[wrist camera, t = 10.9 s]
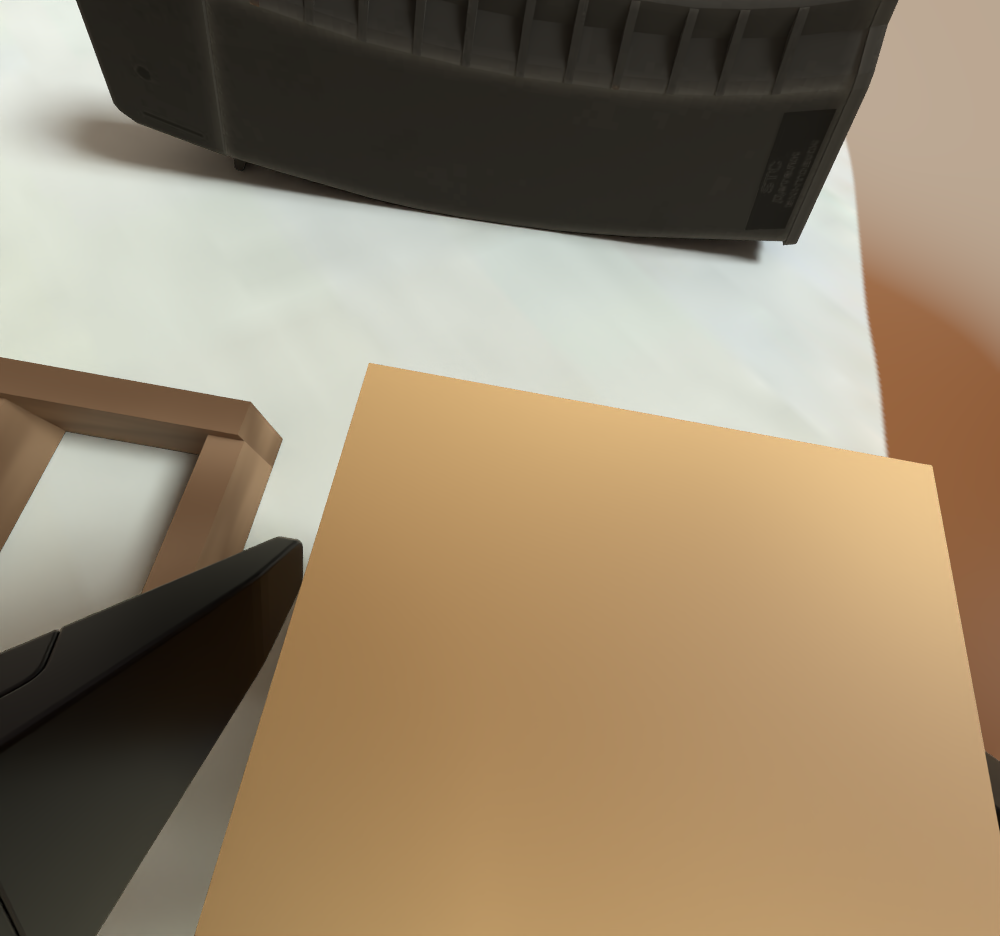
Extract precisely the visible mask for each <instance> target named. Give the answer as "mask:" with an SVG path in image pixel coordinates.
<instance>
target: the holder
mask: <svg viewBox="0 0 1000 936" xmlns="http://www.w3.org/2000/svg"><path fill="white" fill-rule="evenodd" d="M65 431H68V432H73V433H79V434H85V435H90V436H96V437H102V438H107V439H113V440H119V441H124V442H130V443H136V444H141V445H147V446H153V447H158V448H164V449H170V450H176V451H181V452H187V453H193V454H198V455H199V457H198V460H197V462H196V465H195V467H194V469H193V472H192V474H191V476H190V479H189V481H188V484H187V486H186V488H185V491H184V493H183V495H182V498H181V500H180V503H179V505H178V507H177V510H176V512H175V514H174V517H173V519H172V522H171V524H170V526H169V529H168V531H167V533H166V536H165V538H164V541H163V543H162V545H161V548H160V550H159V552H158V555H157V557H156V560H155V562H154V564H153V567H152V569H151V571H150V574H149V576H148V579H147V581H146V583H145V586H144V588H143V590H142V593H145V592H147V591H150V590H152V589H154V588H157V587H159V586H161V585H164V584H166V583H169V582H171V581H173V580H176V579H178V578H180V577H183V576H185V575H188V574H190V573H192V572H195V571H197V570H199V569H202V568H204V567H207V566H209V565H211V564H214V563H216V562H218V561H221V560H223V559H225V558H228V557H230V556H233V555H235V554H237V553H240V552H242V551H243V549H244V546H245V543H246V541H247V538H248V535H249V532H250V529H251V527H252V524H253V521H254V518H255V515H256V513H257V510H258V507H259V504H260V501H261V499H262V496H263V493H264V490H265V487H266V485H267V482H268V479H269V476H270V473H271V471H272V468H273V465H274V462H275V459H276V457H277V454H278V451H279V448H280V445H281V443H282V440H283V439H282V438H281V436H280V435H279V434H278V433H277V432H276V431H275V429H274V428H273V427H272V426H271V425H270V424H269V423H268V421H267V420H266V419H265V418H264V417H263V416H262V414H261V413H260V412H259V411H258V410H257V409H256V407H255V406H254V405H253V404H252V403H251V402H248V401H243V400H237V399H231V398H226V397H220V396H215V395H209V394H203V393H198V392H192V391H187V390H181V389H175V388H170V387H164V386H159V385H153V384H147V383H142V382H136V381H131V380H125V379H119V378H114V377H108V376H103V375H97V374H92V373H86V372H80V371H75V370H69V369H64V368H58V367H52V366H47V365H41V364H36V363H30V362H24V361H19V360H13V359H8V358H2V357H0V551H1V549H2V547H3V546H4V544H5V542H6V540H7V538H8V536H9V535H10V533H11V531H12V529H13V527H14V525H15V524H16V522H17V520H18V518H19V516H20V514H21V512H22V511H23V509H24V507H25V505H26V503H27V501H28V500H29V498H30V496H31V494H32V492H33V490H34V489H35V487H36V485H37V483H38V481H39V479H40V478H41V476H42V474H43V472H44V470H45V468H46V466H47V465H48V463H49V461H50V459H51V457H52V455H53V454H54V452H55V450H56V448H57V446H58V444H59V443H60V441H61V439H62V437H63V435H64V433H65ZM142 593H141V594H142Z"/></svg>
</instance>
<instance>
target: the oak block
mask: <svg viewBox="0 0 1000 936" xmlns="http://www.w3.org/2000/svg"><path fill="white" fill-rule="evenodd" d="M194 936H1000V831H999V826H998V821H997V815H996V810H995V804H994V799H993V793H992V788H991V783H990V777H989V772H988V766H987V761H986V755H985V751H984V745H983V739H982V734H981V729H980V724H979V718H978V713H977V707H976V701H975V696H974V690H973V685H972V680H971V675H970V669H969V664H968V658H967V653H966V648H965V643H964V636H963V631H962V626H961V620H960V615H959V609H958V604H957V598H956V593H955V587H954V582H953V577H952V571H951V566H950V560H949V555H948V550H947V544H946V539H945V533H944V528H943V522H942V517H941V512H940V507H939V501H938V495H937V490H936V484H935V479H934V474H933V468H932V466H931V465H926V464H920V463H914V462H909V461H904V460H898V459H892V458H887V457H882V456H876V455H871V454H865V453H860V452H854V451H849V450H843V449H838V448H832V447H827V446H821V445H816V444H811V443H805V442H800V441H794V440H789V439H783V438H778V437H772V436H767V435H761V434H756V433H750V432H745V431H739V430H734V429H728V428H723V427H717V426H712V425H706V424H701V423H696V422H690V421H685V420H679V419H674V418H668V417H663V416H657V415H652V414H646V413H641V412H635V411H630V410H624V409H619V408H613V407H608V406H602V405H597V404H591V403H586V402H581V401H575V400H570V399H564V398H559V397H553V396H548V395H542V394H537V393H531V392H526V391H520V390H515V389H509V388H504V387H498V386H493V385H487V384H482V383H476V382H471V381H466V380H460V379H455V378H449V377H444V376H438V375H433V374H427V373H422V372H416V371H411V370H405V369H400V368H394V367H389V366H383V365H378V364H372V363H369V365H368V368H367V371H366V375H365V378H364V381H363V384H362V388H361V391H360V394H359V398H358V401H357V404H356V407H355V411H354V414H353V417H352V420H351V424H350V427H349V430H348V434H347V437H346V440H345V443H344V447H343V450H342V453H341V457H340V460H339V463H338V466H337V470H336V473H335V476H334V479H333V483H332V486H331V489H330V493H329V496H328V499H327V502H326V506H325V509H324V512H323V516H322V519H321V522H320V525H319V529H318V532H317V535H316V538H315V542H314V545H313V548H312V552H311V555H310V558H309V561H308V565H307V568H306V571H305V574H304V578H303V581H302V584H301V588H300V591H299V594H298V597H297V601H296V604H295V607H294V611H293V614H292V617H291V620H290V624H289V627H288V630H287V633H286V637H285V640H284V643H283V647H282V650H281V653H280V656H279V660H278V663H277V666H276V669H275V673H274V676H273V679H272V683H271V686H270V689H269V692H268V696H267V699H266V702H265V706H264V709H263V712H262V715H261V719H260V722H259V725H258V728H257V732H256V735H255V738H254V742H253V745H252V748H251V751H250V755H249V758H248V761H247V765H246V768H245V771H244V774H243V778H242V781H241V784H240V787H239V791H238V794H237V797H236V801H235V804H234V807H233V810H232V814H231V817H230V820H229V823H228V827H227V830H226V833H225V837H224V840H223V843H222V846H221V850H220V853H219V856H218V860H217V863H216V866H215V869H214V873H213V876H212V879H211V882H210V886H209V889H208V892H207V896H206V899H205V902H204V905H203V909H202V912H201V915H200V918H199V922H198V925H197V928H196V932H195V935H194Z"/></svg>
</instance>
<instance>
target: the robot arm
mask: <svg viewBox="0 0 1000 936" xmlns="http://www.w3.org/2000/svg"><path fill="white" fill-rule="evenodd" d="M302 579H303V546H302V542H301V541H300V540H298V539H292V538H287V537H276V538H273V539H271V540H268V541H266V542H263V543H261V544H259V545H256V546H254V547H252V548H249V549H247V550H244V551H242V552H240V553H237V554H235V555H233V556H230V557H228V558H225V559H223V560H221V561H218V562H216V563H214V564H211V565H209V566H207V567H204V568H202V569H199V570H197V571H195V572H192V573H190V574H188V575H185V576H183V577H180V578H178V579H176V580H173V581H171V582H169V583H166V584H164V585H161V586H159V587H157V588H154V589H152V590H150V591H147V592H145V593H142V594H140V595H138V596H135V597H133V598H130V599H128V600H126V601H123V602H121V603H119V604H116V605H114V606H111V607H109V608H107V609H104V610H102V611H100V612H97V613H95V614H92V615H90V616H88V617H85V618H83V619H81V620H78V621H76V622H73V623H71V624H69V625H66V626H64V627H62V628H61V630H60V632H59V631H58V630H54V631H52V632H49V633H47V634H45V635H42V636H40V637H38V638H35V639H33V640H30V641H28V642H26V643H23V644H21V645H18V646H16V647H13V648H11V649H8V650H6V651H4V652H1V653H0V936H96V935H97V933H98V932H99V930H100V928H101V927H102V925H103V924H104V922H105V920H106V919H107V917H108V916H109V914H110V912H111V911H112V909H113V907H114V906H115V904H116V903H117V901H118V899H119V898H120V896H121V895H122V893H123V891H124V890H125V888H126V886H127V885H128V883H129V882H130V880H131V878H132V877H133V875H134V874H135V872H136V870H137V869H138V867H139V865H140V864H141V862H142V861H143V859H144V857H145V856H146V854H147V853H148V851H149V849H150V848H151V846H152V844H153V843H154V841H155V840H156V838H157V836H158V835H159V833H160V831H161V830H162V828H163V827H164V825H165V823H166V822H167V820H168V819H169V817H170V815H171V814H172V812H173V810H174V809H175V807H176V806H177V804H178V802H179V801H180V799H181V798H182V796H183V794H184V793H185V791H186V789H187V788H188V786H189V785H190V783H191V781H192V780H193V778H194V777H195V775H196V773H197V772H198V770H199V768H200V767H201V765H202V764H203V762H204V760H205V759H206V757H207V756H208V754H209V752H210V751H211V749H212V747H213V746H214V744H215V743H216V741H217V739H218V738H219V736H220V735H221V733H222V731H223V730H224V728H225V726H226V725H227V723H228V722H229V720H230V718H231V717H232V715H233V713H234V712H235V710H236V709H237V707H238V705H239V704H240V702H241V701H242V699H243V697H244V696H245V694H246V692H247V691H248V689H249V688H250V686H251V684H252V683H253V681H254V680H255V678H256V676H257V675H258V673H259V671H260V669H261V668H262V666H263V664H264V663H265V661H266V659H267V657H268V655H269V653H270V651H271V649H272V647H273V644H274V642H275V640H276V638H277V636H278V634H279V632H280V630H281V628H282V626H283V623H284V621H285V619H286V617H287V615H288V613H289V611H290V609H291V607H292V605H293V602H294V600H295V598H296V596H297V594H298V592H299V590H300V587H301V584H302ZM985 755H986V761H987V766H988V772H989V777H990V783H991V788H992V793H993V799H994V804H995V810H996V815H997V821H998V826H999V831H1000V761H998V760H997V759H996V758H994V757H993V756H991V755H990V754H988V753H987V752H985Z"/></svg>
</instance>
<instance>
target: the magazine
mask: <svg viewBox="0 0 1000 936" xmlns="http://www.w3.org/2000/svg"><path fill="white" fill-rule="evenodd" d="M76 1H77V4H78V7H79V10H80V12H81V15H82V18H83V21H84V23H85V26H86V29H87V32H88V34H89V37H90V40H91V43H92V45H93V48H94V51H95V53H96V56H97V59H98V62H99V64H100V67H101V70H102V73H103V75H104V78H105V81H106V84H107V86H108V89H109V92H110V95H111V97H112V100H113V103H114V104H115V105H116V107H117V108H118V109H119V110H120V111H121V112H123V113H124V114H125V115H127V116H128V117H130V118H131V119H132V120H134V121H135V122H137V123H139V124H142V125H144V126H147V127H150V128H152V129H155V130H158V131H161V132H163V133H166V134H169V135H171V136H174V137H177V138H180V139H182V140H185V141H188V142H190V143H193V144H196V145H199V146H201V147H204V148H207V149H209V150H212V151H215V152H218V153H220V154H223V155H227V156H230V157H233V158H234V164H235V169H237V170H240V171H243V168H244V166H245V163H246V162H249V163H252V164H255V165H258V166H262V167H265V168H268V169H271V170H275V171H278V172H282V173H285V174H289V175H292V176H296V177H299V178H303V179H306V180H310V181H313V182H317V183H320V184H324V185H327V186H331V187H334V188H338V189H341V190H345V191H348V192H352V193H355V194H359V195H362V196H366V197H369V198H373V199H376V200H381V201H385V202H389V203H394V204H398V205H402V206H407V207H411V208H415V209H420V210H425V211H430V212H435V213H440V214H446V215H451V216H457V217H463V218H469V219H476V220H483V221H489V222H496V223H503V224H510V225H517V226H525V227H532V228H539V229H547V230H557V231H568V232H579V233H591V234H605V235H620V236H636V237H667V238H698V239H728V240H759V241H783V245H791V244H796V243H797V241H798V239H799V237H800V235H801V233H802V230H803V228H804V226H805V224H806V222H807V220H808V217H809V215H810V213H811V211H812V209H813V207H814V204H815V202H816V200H817V198H818V196H819V194H820V191H821V189H822V187H823V185H824V183H825V181H826V178H827V176H828V174H829V172H830V170H831V168H832V166H833V163H834V161H835V159H836V157H837V155H838V153H839V150H840V148H841V146H842V144H843V142H844V140H845V137H846V135H847V133H848V131H849V129H850V127H851V124H852V122H853V120H854V118H855V116H856V114H857V111H858V109H859V107H860V105H861V103H862V100H863V98H864V96H865V94H866V92H867V90H868V87H869V84H870V82H871V79H872V77H873V74H874V71H875V67H876V64H877V60H878V57H879V53H880V49H881V46H882V42H883V39H884V36H885V32H886V29H887V25H888V23H889V20H890V18H891V16H892V14H893V11H894V9H895V7H896V5H897V2H898V0H76Z"/></svg>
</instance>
